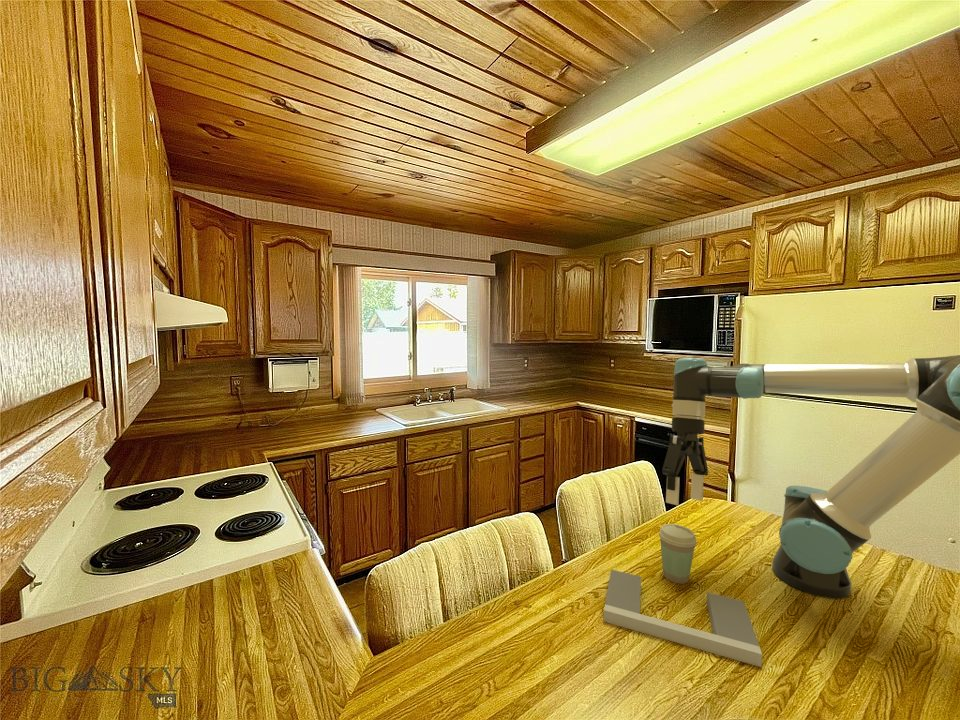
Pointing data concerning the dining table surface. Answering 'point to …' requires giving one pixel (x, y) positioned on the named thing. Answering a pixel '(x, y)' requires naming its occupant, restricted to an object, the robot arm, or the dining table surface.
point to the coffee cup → (677, 552)
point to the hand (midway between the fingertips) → (684, 501)
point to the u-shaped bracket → (726, 619)
